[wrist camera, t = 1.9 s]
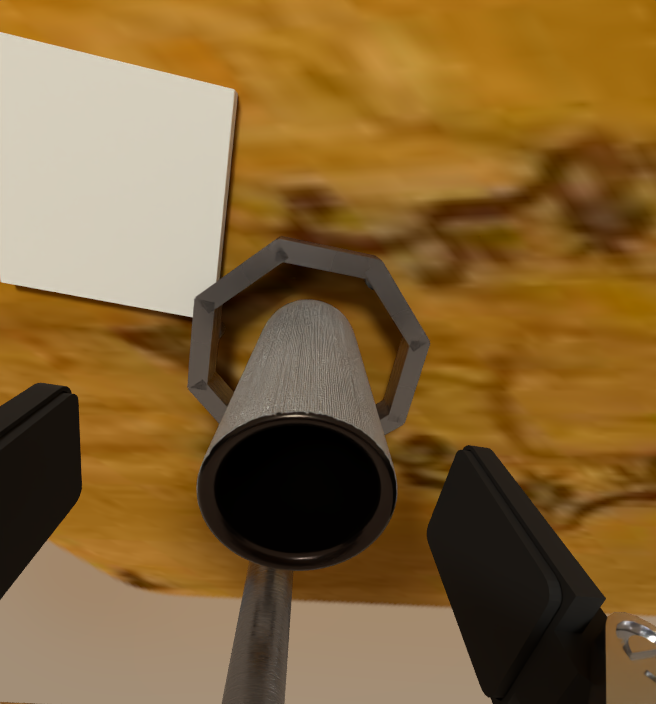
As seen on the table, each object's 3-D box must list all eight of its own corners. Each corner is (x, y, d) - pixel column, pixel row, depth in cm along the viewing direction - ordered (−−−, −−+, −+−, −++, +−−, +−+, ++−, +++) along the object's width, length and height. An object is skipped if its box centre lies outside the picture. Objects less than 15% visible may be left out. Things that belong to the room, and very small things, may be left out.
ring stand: (432, 265, 17) (618, 354, 6) (359, 508, 22) (397, 779, 11) (218, 220, 16) (28, 239, 5) (193, 485, 21) (71, 756, 10)
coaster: (237, 94, 14) (234, 89, 13) (215, 317, 17) (212, 320, 17) (-14, 33, 13) (-28, 25, 13) (11, 279, 16) (1, 281, 16)
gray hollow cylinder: (297, 401, 19) (275, 599, 9) (242, 332, 17) (150, 480, 8) (372, 356, 18) (434, 520, 9) (321, 279, 17) (326, 372, 7)
